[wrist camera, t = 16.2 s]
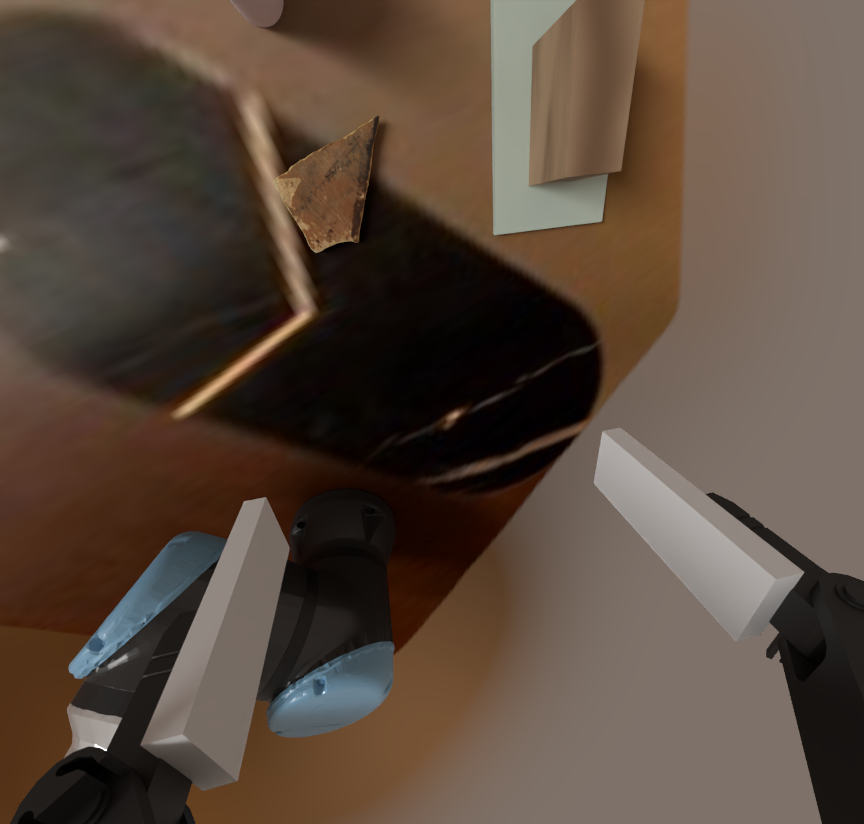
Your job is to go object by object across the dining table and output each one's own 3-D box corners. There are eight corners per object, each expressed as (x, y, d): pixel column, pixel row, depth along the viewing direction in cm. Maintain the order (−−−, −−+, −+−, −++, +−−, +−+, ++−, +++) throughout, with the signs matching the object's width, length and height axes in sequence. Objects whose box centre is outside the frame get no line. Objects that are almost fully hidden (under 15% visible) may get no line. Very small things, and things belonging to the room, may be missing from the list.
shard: (378, 119, 30) (379, 114, 29) (415, 210, 34) (418, 209, 33) (272, 179, 31) (268, 177, 29) (321, 261, 35) (319, 263, 33)
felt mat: (598, 221, 37) (602, 221, 37) (493, 234, 36) (495, 235, 35) (628, -25, 28) (633, -30, 28) (490, -19, 27) (493, -24, 27)
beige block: (587, 41, 29) (645, -6, 23) (575, 180, 34) (621, 171, 28) (532, 45, 29) (577, -2, 23) (528, 186, 34) (564, 177, 28)
